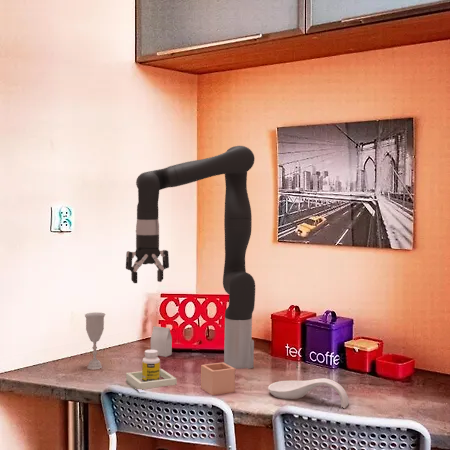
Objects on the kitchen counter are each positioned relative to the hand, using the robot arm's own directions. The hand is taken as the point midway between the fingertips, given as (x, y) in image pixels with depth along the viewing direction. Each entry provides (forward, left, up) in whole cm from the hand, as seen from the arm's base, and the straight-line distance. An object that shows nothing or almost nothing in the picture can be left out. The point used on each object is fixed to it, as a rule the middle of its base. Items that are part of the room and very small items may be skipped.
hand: (147, 282), depth 223 cm
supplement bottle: (+4, +14, -29) cm, 33 cm away
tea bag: (-13, -19, -30) cm, 38 cm away
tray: (+4, +14, -30) cm, 33 cm away
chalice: (+14, -12, -30) cm, 35 cm away
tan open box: (-11, +30, -30) cm, 44 cm away
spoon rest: (-32, +47, -30) cm, 64 cm away
